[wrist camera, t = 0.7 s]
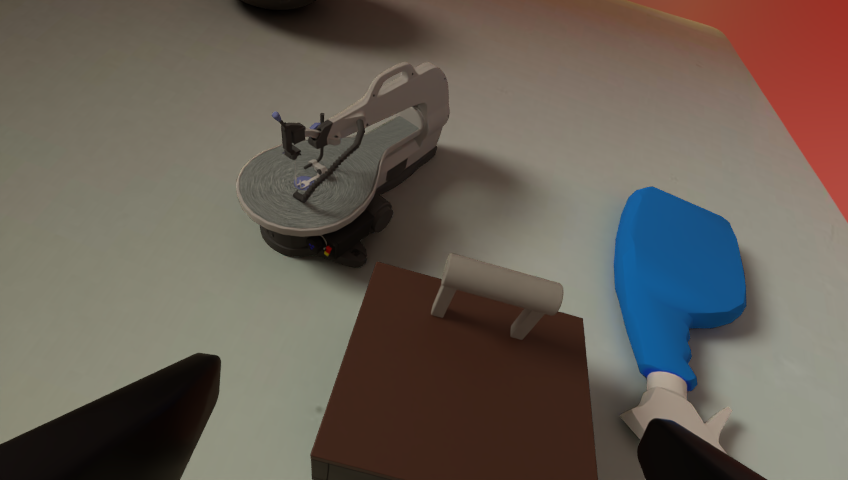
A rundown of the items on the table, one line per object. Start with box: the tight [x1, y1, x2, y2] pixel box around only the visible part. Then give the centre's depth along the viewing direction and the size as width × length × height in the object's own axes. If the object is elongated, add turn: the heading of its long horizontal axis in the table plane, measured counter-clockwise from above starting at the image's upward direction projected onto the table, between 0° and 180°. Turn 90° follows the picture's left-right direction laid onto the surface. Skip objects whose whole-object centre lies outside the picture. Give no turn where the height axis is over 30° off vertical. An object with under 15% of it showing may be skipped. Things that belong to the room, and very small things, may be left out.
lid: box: [311, 253, 598, 480], centre depth 18 cm, size 10×13×5 cm
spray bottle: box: [614, 187, 746, 454], centre depth 32 cm, size 3×11×24 cm
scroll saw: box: [237, 62, 450, 268], centre depth 30 cm, size 20×11×12 cm
